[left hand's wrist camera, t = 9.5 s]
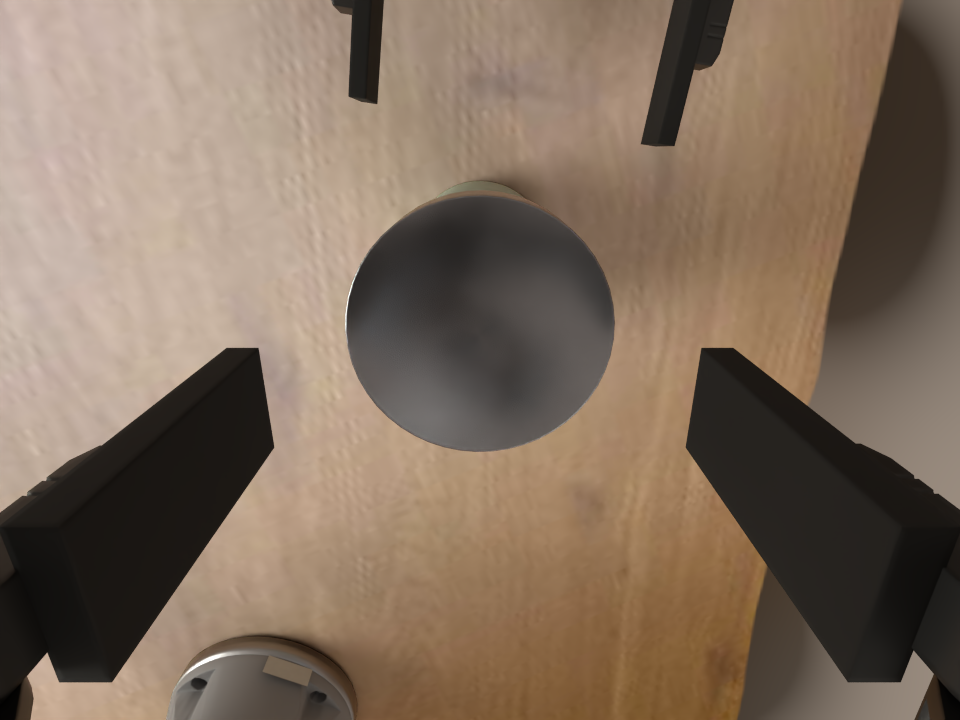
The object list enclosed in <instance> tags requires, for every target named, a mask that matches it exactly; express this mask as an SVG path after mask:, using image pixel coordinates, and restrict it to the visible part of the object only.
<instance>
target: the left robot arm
mask: <svg viewBox="0 0 960 720" xmlns="http://www.w3.org/2000/svg"><path fill="white" fill-rule="evenodd" d="M273 449H274V442H273V436H272V430H271V424H270V417H269V411H268V405H267V399H266V392H265V386H264V380H263V373H262V367H261V361H260V355H259V348H226V349H225V350H224V351H222V352H221V353H220V354H218V355H217V356H216V357H215V358H213V359H212V360H211V361H209V362H208V363H207V364H206V365H204V366H203V367H202V368H201V369H199V370H198V371H197V372H195V373H194V374H193V375H192V376H190V377H189V378H188V379H186V380H185V381H184V382H183V383H181V384H180V385H179V386H178V387H176V388H175V389H174V390H172V391H171V392H170V393H169V394H167V395H166V396H165V397H163V398H162V399H161V400H160V401H158V402H157V403H156V404H155V405H153V406H152V407H151V408H149V409H148V410H147V411H146V412H144V413H143V414H142V415H140V416H139V417H138V418H137V419H135V420H134V421H133V422H131V423H130V424H129V425H128V426H126V427H125V428H124V429H123V430H121V431H120V432H119V433H117V434H116V435H115V436H114V437H112V438H111V439H110V440H108V441H107V442H106V443H105V444H103V445H102V446H98V447H96V448H94V449H92V450H90V451H88V452H86V453H84V454H82V455H79V456H77V457H75V458H73V459H71V460H69V461H68V462H67V463H65V464H64V465H63V466H61V467H60V468H59V469H57V470H56V471H55V472H53V473H52V474H51V475H49V476H48V477H47V480H46V481H42V482H40V483H39V484H38V485H36V486H35V487H34V488H32V489H31V490H30V491H28V492H27V496H22V497H20V498H19V499H18V500H16V501H15V502H14V503H12V504H11V505H10V506H8V507H7V508H6V509H4V510H3V511H2V512H1V513H0V720H30V718H31V712H32V706H33V699H34V698H33V693H32V687H31V685H30V682H29V680H28V678H27V675H28V674H29V673H30V672H31V671H32V669H33V668H34V667H35V666H36V665H37V664H38V662H39V661H40V660H41V659H42V658H43V657H44V656H45V654H46V653H48V655H49V658H50V660H51V663H52V665H53V668H54V670H55V673H56V675H57V678H58V680H59V682H112V681H113V680H114V679H115V677H116V676H117V674H118V673H119V671H120V670H121V668H122V667H123V665H124V664H125V663H126V661H127V660H128V658H129V657H130V655H131V654H132V652H133V651H134V650H135V648H136V647H137V645H138V644H139V642H140V641H141V639H142V638H143V637H144V635H145V634H146V632H147V631H148V629H149V628H150V626H151V625H152V624H153V622H154V621H155V619H156V618H157V616H158V615H159V613H160V612H161V611H162V609H163V608H164V606H165V605H166V603H167V602H168V600H169V599H170V598H171V596H172V595H173V593H174V592H175V590H176V589H177V587H178V586H179V585H180V583H181V582H182V580H183V579H184V577H185V576H186V574H187V573H188V571H189V570H190V569H191V567H192V566H193V564H194V563H195V561H196V560H197V558H198V557H199V556H200V554H201V553H202V551H203V550H204V548H205V547H206V545H207V544H208V543H209V541H210V540H211V538H212V537H213V535H214V534H215V532H216V531H217V530H218V528H219V527H220V525H221V524H222V522H223V521H224V519H225V518H226V517H227V515H228V514H229V512H230V511H231V509H232V508H233V506H234V505H235V504H236V502H237V501H238V499H239V498H240V496H241V495H242V493H243V492H244V491H245V489H246V488H247V486H248V485H249V483H250V482H251V480H252V479H253V477H254V476H255V475H256V473H257V472H258V470H259V469H260V467H261V466H262V464H263V463H264V462H265V460H266V459H267V457H268V456H269V454H270V453H271V451H272V450H273ZM686 449H687V450H688V451H689V453H690V454H691V456H692V457H693V459H694V460H695V462H696V463H697V464H698V466H699V467H700V469H701V470H702V472H703V473H704V475H705V476H706V477H707V479H708V480H709V482H710V483H711V485H712V486H713V488H714V489H715V491H716V492H717V493H718V495H719V496H720V498H721V499H722V501H723V502H724V504H725V505H726V506H727V508H728V509H729V511H730V512H731V514H732V515H733V517H734V518H735V519H736V521H737V522H738V524H739V525H740V527H741V528H742V530H743V531H744V532H745V534H746V535H747V537H748V538H749V540H750V541H751V543H752V544H753V545H754V547H755V548H756V550H757V551H758V553H759V554H760V556H761V557H762V558H763V560H764V561H765V563H766V564H767V566H768V567H769V568H770V570H771V571H772V573H773V574H774V576H775V577H776V579H777V580H778V582H779V583H780V585H781V586H782V587H783V589H784V590H785V592H786V593H787V595H788V596H789V598H790V599H791V600H792V602H793V603H794V605H795V606H796V608H797V609H798V611H799V612H800V613H801V615H802V616H803V618H804V619H805V621H806V622H807V624H808V625H809V626H810V628H811V629H812V631H813V632H814V634H815V635H816V637H817V638H818V639H819V641H820V642H821V644H822V645H823V647H824V648H825V650H826V651H827V652H828V654H829V655H830V657H831V658H832V660H833V661H834V663H835V664H836V666H837V667H838V668H839V670H840V671H841V673H842V674H843V676H844V677H845V679H846V680H847V681H848V682H901V680H902V678H903V675H904V673H905V670H906V668H907V665H908V663H909V660H910V657H911V655H912V653H913V650H914V651H915V652H916V653H917V655H918V656H919V657H920V658H921V659H922V660H923V662H924V663H925V664H926V665H927V666H928V667H929V669H930V670H931V671H932V672H933V673H934V675H933V678H932V680H931V682H930V685H929V687H928V689H927V692H926V694H925V696H924V699H923V701H922V703H921V706H920V708H919V711H918V713H917V715H916V718H915V720H960V510H959V509H958V508H957V507H955V506H954V505H953V504H951V503H950V502H949V501H947V500H946V499H945V498H943V497H942V496H941V495H939V494H934V492H933V489H931V488H930V487H929V486H927V485H926V484H925V483H923V482H922V481H921V480H919V479H914V475H913V474H911V473H910V472H909V471H907V470H906V469H905V468H903V467H902V466H901V465H899V464H898V463H897V462H895V461H894V460H893V459H891V458H889V457H887V456H885V455H883V454H881V453H879V452H877V451H875V450H873V449H871V448H869V447H866V446H864V445H862V444H855V443H854V442H853V441H852V440H850V439H849V438H848V437H846V436H845V435H844V434H843V433H841V432H840V431H839V430H837V429H836V428H835V427H834V426H832V425H831V424H830V423H829V422H827V421H826V420H825V419H823V418H822V417H821V416H820V415H818V414H817V413H816V412H814V411H813V410H812V409H811V408H809V407H808V406H807V405H805V404H804V403H803V402H802V401H800V400H799V399H798V398H797V397H795V396H794V395H793V394H791V393H790V392H789V391H788V390H786V389H785V388H784V387H782V386H781V385H780V384H779V383H777V382H776V381H775V380H774V379H772V378H771V377H770V376H768V375H767V374H766V373H765V372H763V371H762V370H761V369H759V368H758V367H757V366H756V365H754V364H753V363H752V362H751V361H749V360H748V359H747V358H745V357H744V356H743V355H742V354H740V353H739V352H738V351H736V350H735V349H734V348H701V355H700V361H699V367H698V373H697V380H696V386H695V392H694V399H693V405H692V411H691V417H690V424H689V430H688V436H687V442H686ZM356 714H357V699H356V694H355V691H354V689H353V686H352V685H351V683H350V681H349V679H348V678H347V676H346V675H345V674H344V673H343V672H342V670H341V669H340V668H339V667H338V666H337V665H336V664H334V663H333V662H332V661H331V660H329V659H328V658H327V657H325V656H324V655H322V654H320V653H319V652H317V651H315V650H313V649H311V648H309V647H307V646H304V645H301V644H299V643H295V642H292V641H289V640H284V639H280V638H273V637H262V636H251V637H240V638H234V639H229V640H226V641H222V642H219V643H217V644H214V645H212V646H210V647H208V648H207V649H205V650H203V651H202V652H200V653H199V654H198V655H197V656H196V657H194V658H193V659H192V661H191V662H190V663H189V664H188V666H187V667H186V669H185V671H184V672H183V674H182V676H181V678H180V679H179V681H178V683H177V685H176V686H175V689H174V691H173V693H172V696H171V700H170V704H169V709H168V713H167V718H166V720H355V719H356Z"/></svg>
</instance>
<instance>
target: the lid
mask: <svg viewBox="0 0 960 720" xmlns="http://www.w3.org/2000/svg"><path fill="white" fill-rule="evenodd" d="M614 326H615V320H614V307H613V301H612V297H611V292H610V288H609V285H608V283H607V280H606V277H605V275H604V272H603V270H602V268H601V267H600V265H599V263H598V261H597V259H596V257H595V256H594V255H593V253H592V252H591V250H590V249H589V248H588V246H587V245H586V244H585V242H584V241H583V240H582V239H581V238H580V237H579V236H578V235H577V234H576V233H575V232H574V231H573V230H572V229H571V228H570V227H568V226H567V225H566V224H565V223H564V222H563V221H561V220H560V219H559V218H558V217H556V216H555V215H554V214H552V213H551V212H550V211H548V210H547V209H545V208H543V207H541V206H540V205H538V204H536V203H534V202H532V201H529V200H527V199H524V198H522V197H519V196H516V195H512V194H508V193H504V192H498V191H488V190H474V191H463V192H457V193H451V194H448V195H444V196H441V197H438V198H435V199H433V200H431V201H428V202H426V203H424V204H422V205H420V206H418V207H417V208H415V209H414V210H412V211H411V212H409V213H408V214H406V215H405V216H403V217H402V218H401V219H400V220H399V221H398V222H397V223H395V224H394V225H393V226H392V227H391V228H390V229H389V230H388V231H386V232H385V233H384V234H383V235H382V236H381V237H380V238H379V239H378V241H377V242H376V243H375V244H374V245H373V246H372V248H371V249H370V250H369V252H368V253H367V255H366V256H365V258H364V260H363V261H362V263H361V264H360V266H359V268H358V271H357V273H356V275H355V277H354V280H353V282H352V286H351V289H350V293H349V296H348V301H347V308H346V338H347V346H348V350H349V354H350V358H351V361H352V365H353V367H354V369H355V372H356V374H357V376H358V379H359V380H360V382H361V384H362V386H363V387H364V389H365V391H366V392H367V394H368V395H369V396H370V398H371V399H372V400H373V402H374V403H375V404H376V405H377V407H378V408H379V409H380V410H381V411H382V412H383V413H384V414H385V415H386V416H387V417H388V418H390V419H391V420H392V421H394V422H395V423H396V424H397V425H399V426H400V427H401V428H403V429H405V430H406V431H408V432H409V433H411V434H413V435H414V436H417V437H419V438H421V439H423V440H425V441H427V442H430V443H433V444H436V445H439V446H442V447H446V448H451V449H456V450H462V451H473V452H484V451H497V450H504V449H510V448H514V447H517V446H521V445H525V444H527V443H530V442H532V441H535V440H537V439H540V438H541V437H543V436H545V435H547V434H549V433H551V432H553V431H554V430H556V429H557V428H558V427H560V426H561V425H563V424H564V423H566V422H567V421H568V420H569V419H570V418H571V417H572V416H573V415H575V414H576V413H577V412H578V411H579V410H580V409H581V407H582V406H583V405H584V404H585V403H586V402H587V401H588V399H589V398H590V396H591V395H592V394H593V392H594V391H595V389H596V388H597V386H598V384H599V382H600V380H601V378H602V376H603V374H604V372H605V370H606V367H607V364H608V361H609V358H610V355H611V350H612V345H613V340H614Z"/></svg>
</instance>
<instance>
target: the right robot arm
mask: <svg viewBox="0 0 960 720" xmlns="http://www.w3.org/2000/svg"><path fill="white" fill-rule="evenodd" d="M733 1H734V0H674V2H673V6H672V11H671V15H670V19H669V24H668V28H667V33H666V37H665V41H664V46H663V50H662V54H661V59H660V63H659V67H658V72H657V76H656V80H655V85H654V89H653V93H652V98H651V102H650V107H649V111H648V115H647V120H646V124H645V128H644V133H643V137H642V141H641V144H644V145H650V146H675V142H676V138H677V134H678V130H679V126H680V122H681V118H682V114H683V110H684V106H685V102H686V98H687V94H688V90H689V86H690V82H691V78H692V74H693V70H702V69H705V68H708V67H710V66H712V65H713V63H714V62H715V60H716V59H717V57H718V56H719V54H720V51H721V47H722V43H723V38H724V35H725V32H726V27H727V24H728V20H729V17H730V13H731V9H732V5H733ZM332 4H333V6H334V7H335V8H336V9H337V10H338V11H339V12H340V13H344V14H350V15H352V30H351V53H350V75H349V97H351V98H354V99H356V100H359V101H361V102H367V103H373V104H377V100H378V84H379V68H380V52H381V36H382V20H383V4H384V0H332Z"/></svg>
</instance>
